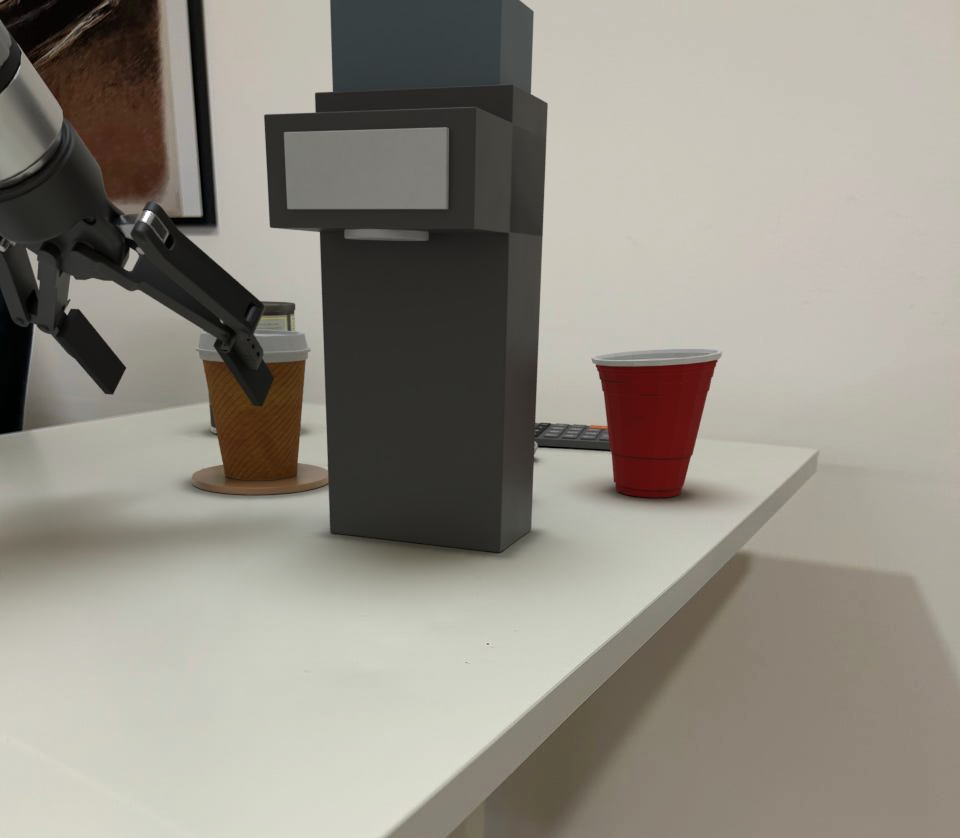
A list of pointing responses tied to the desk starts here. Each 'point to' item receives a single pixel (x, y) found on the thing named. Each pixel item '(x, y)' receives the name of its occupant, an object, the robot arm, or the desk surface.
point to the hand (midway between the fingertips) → (188, 386)
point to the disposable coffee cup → (259, 408)
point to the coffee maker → (424, 264)
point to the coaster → (221, 483)
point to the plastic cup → (654, 415)
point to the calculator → (572, 435)
